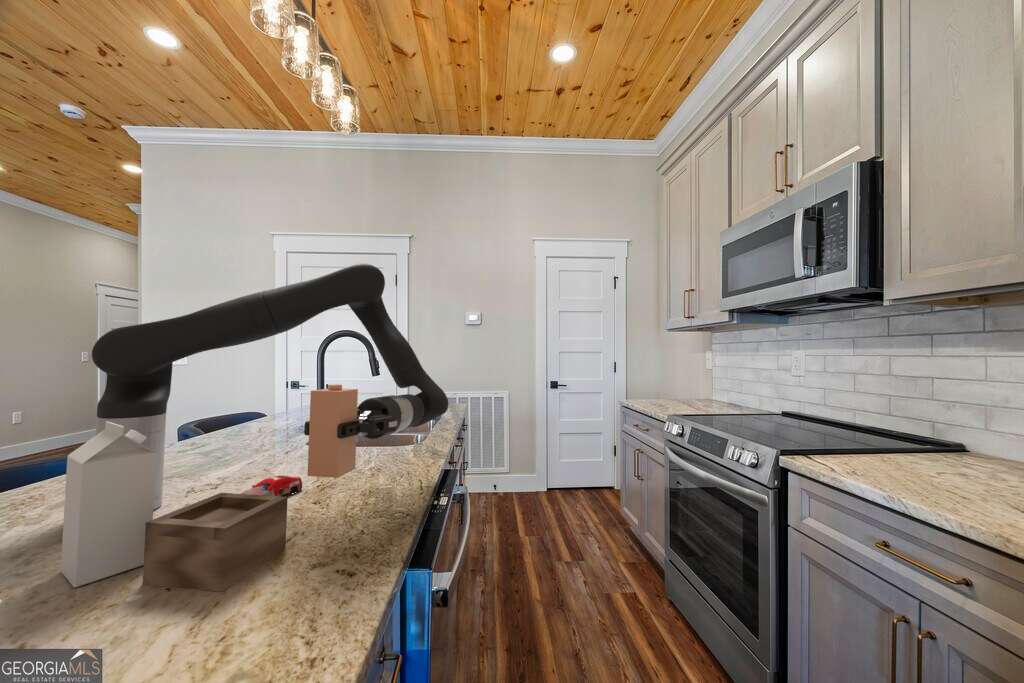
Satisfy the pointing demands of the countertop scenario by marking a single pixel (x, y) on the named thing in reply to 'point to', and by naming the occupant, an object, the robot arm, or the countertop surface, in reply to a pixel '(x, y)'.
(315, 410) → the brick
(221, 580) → the wooden box
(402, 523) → the countertop surface
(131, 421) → the robot arm
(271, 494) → the race car
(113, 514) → the milk carton
